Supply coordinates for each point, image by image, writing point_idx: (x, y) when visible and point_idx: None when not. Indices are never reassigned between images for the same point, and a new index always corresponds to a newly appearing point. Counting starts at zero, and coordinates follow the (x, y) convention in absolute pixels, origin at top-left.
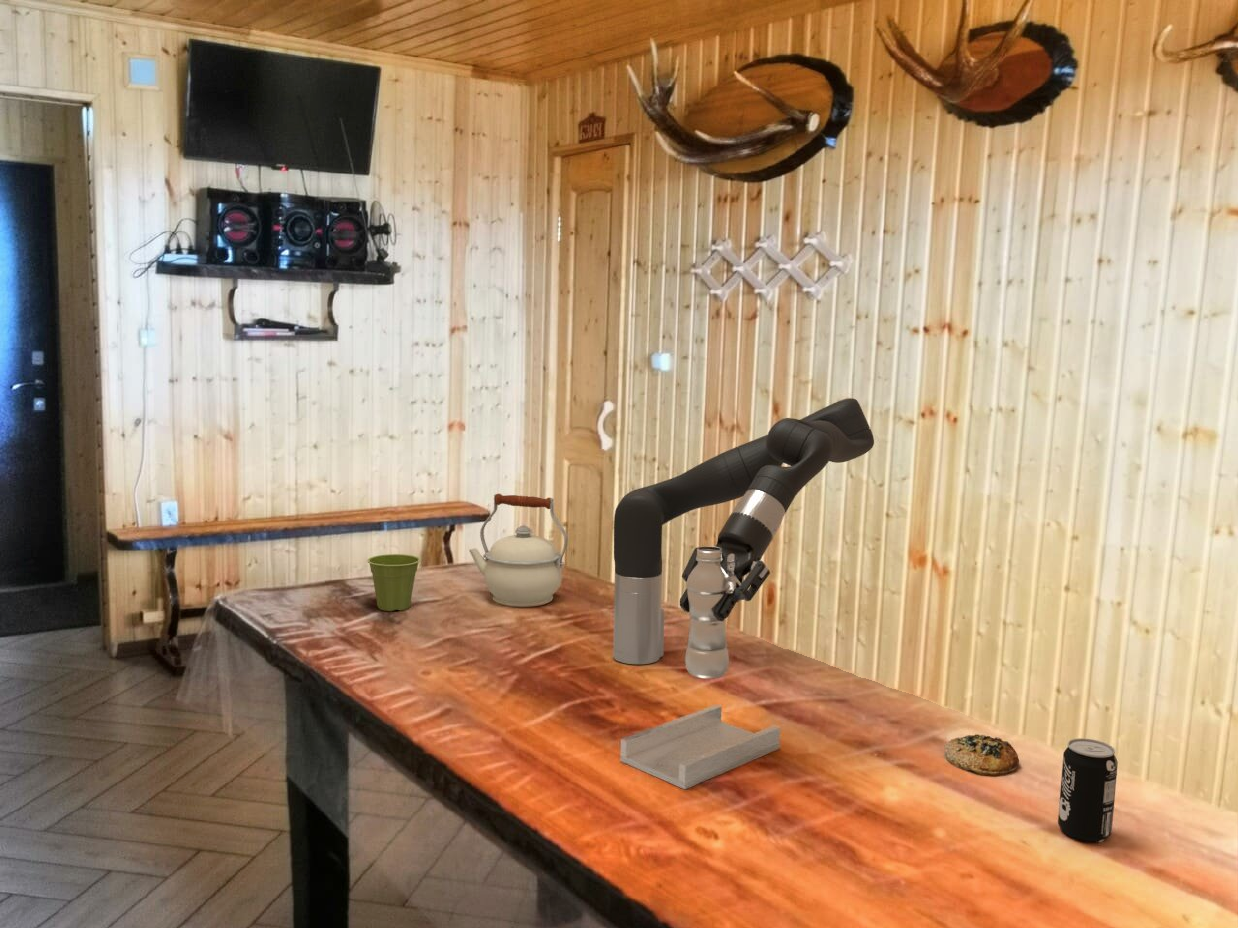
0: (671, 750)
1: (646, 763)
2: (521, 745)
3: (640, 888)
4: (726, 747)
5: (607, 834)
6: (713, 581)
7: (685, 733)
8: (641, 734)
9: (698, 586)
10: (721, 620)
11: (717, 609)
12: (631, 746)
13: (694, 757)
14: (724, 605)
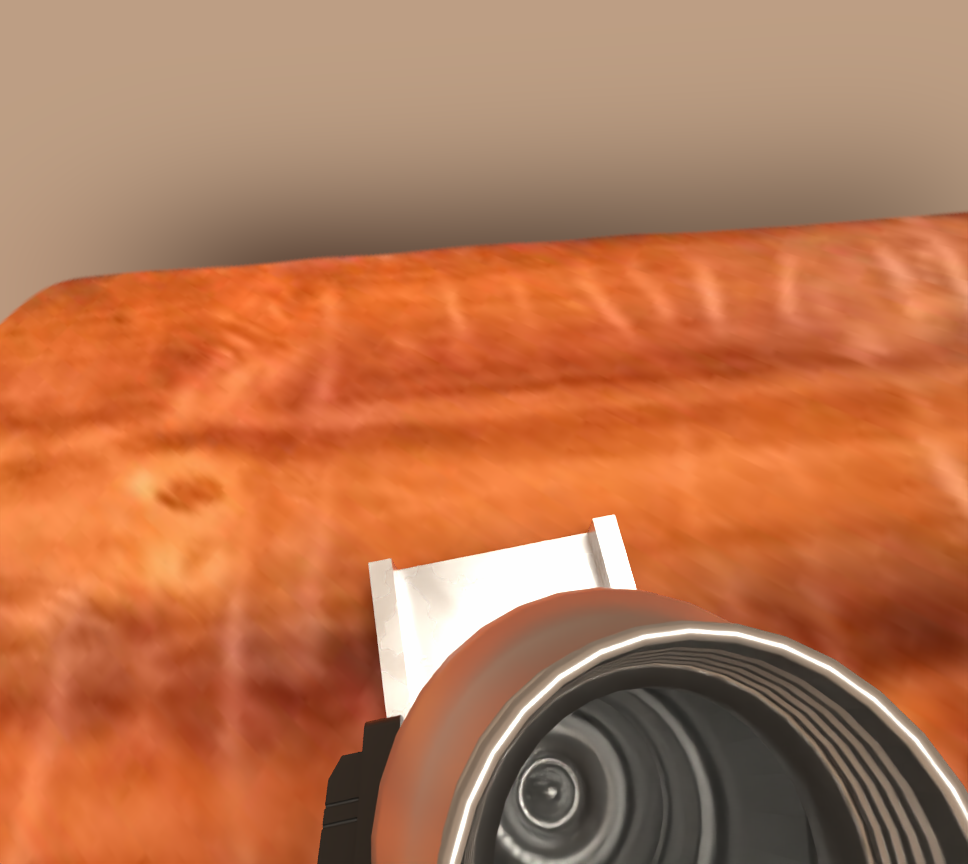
0: None
1: (526, 556)
2: (796, 380)
3: (136, 291)
4: None
5: (315, 334)
6: (408, 734)
7: None
8: (618, 584)
9: (511, 610)
10: None
11: (374, 739)
12: (595, 544)
13: None
14: (353, 814)
